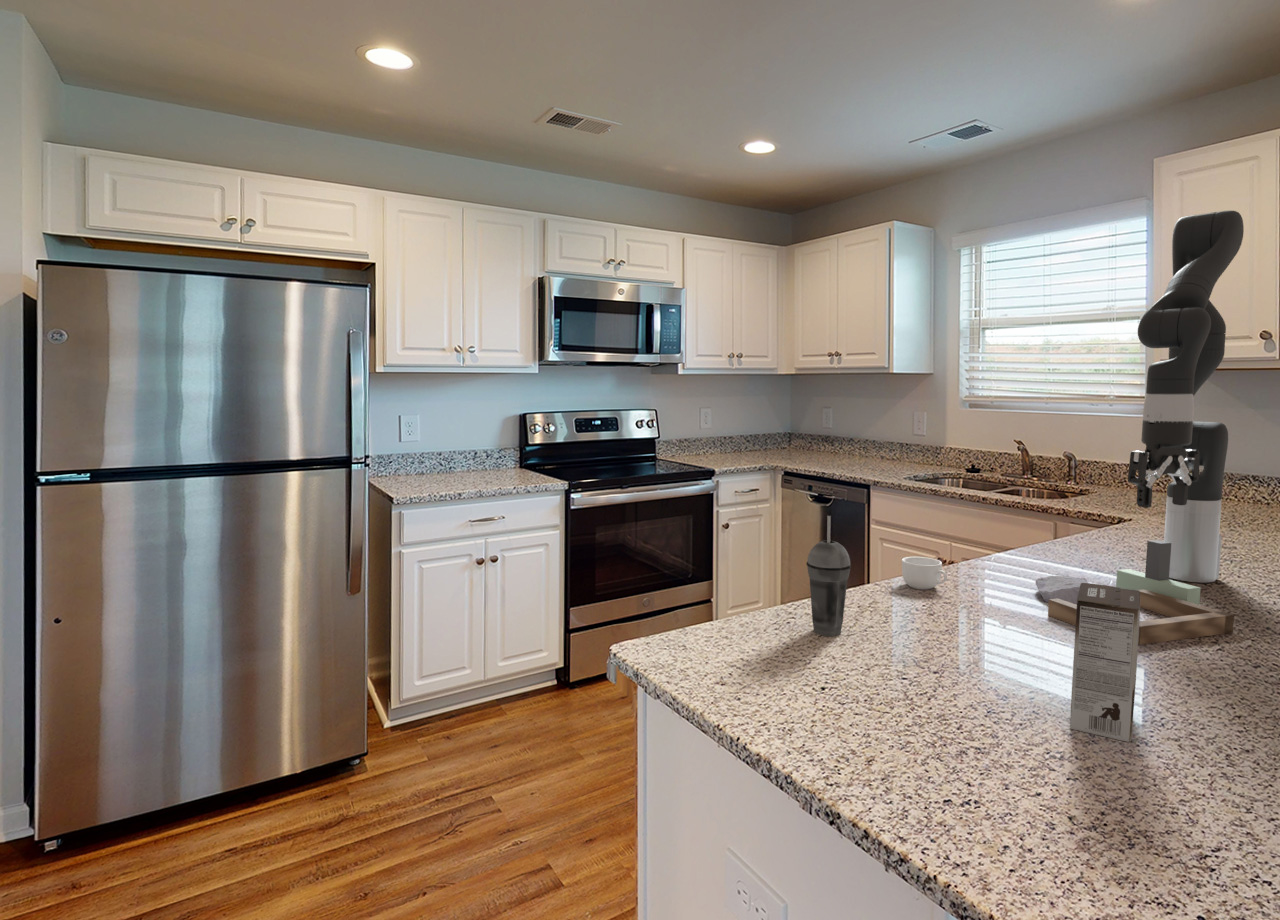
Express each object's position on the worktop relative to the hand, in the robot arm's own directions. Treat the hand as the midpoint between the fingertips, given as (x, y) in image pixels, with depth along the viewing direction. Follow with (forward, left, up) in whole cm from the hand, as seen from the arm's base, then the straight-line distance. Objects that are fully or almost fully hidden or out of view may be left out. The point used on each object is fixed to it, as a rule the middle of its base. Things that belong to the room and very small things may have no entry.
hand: (1161, 506), depth 135 cm
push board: (0, 0, -19) cm, 19 cm away
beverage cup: (+67, -4, -19) cm, 70 cm away
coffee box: (+52, +35, -19) cm, 65 cm away
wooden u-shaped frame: (+14, +7, -19) cm, 24 cm away
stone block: (+13, -8, -19) cm, 25 cm away
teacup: (+34, -22, -19) cm, 45 cm away
